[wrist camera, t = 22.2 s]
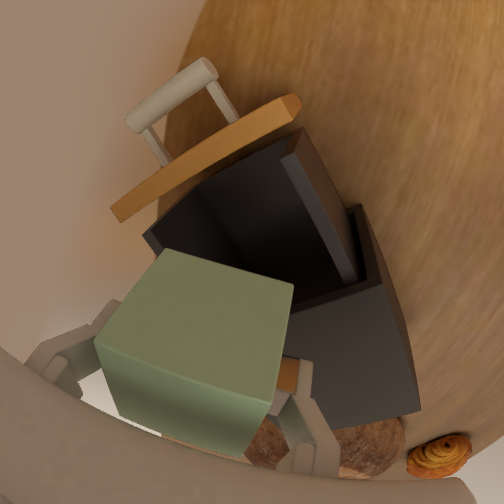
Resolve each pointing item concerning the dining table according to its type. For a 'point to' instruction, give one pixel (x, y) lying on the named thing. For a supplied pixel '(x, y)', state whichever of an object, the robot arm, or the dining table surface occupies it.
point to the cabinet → (356, 344)
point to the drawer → (247, 195)
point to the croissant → (439, 457)
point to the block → (197, 351)
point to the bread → (350, 440)
